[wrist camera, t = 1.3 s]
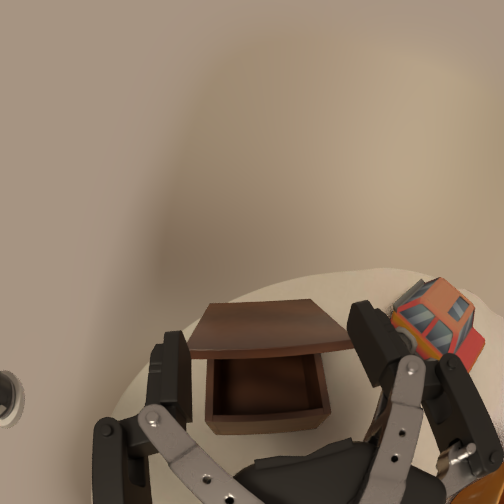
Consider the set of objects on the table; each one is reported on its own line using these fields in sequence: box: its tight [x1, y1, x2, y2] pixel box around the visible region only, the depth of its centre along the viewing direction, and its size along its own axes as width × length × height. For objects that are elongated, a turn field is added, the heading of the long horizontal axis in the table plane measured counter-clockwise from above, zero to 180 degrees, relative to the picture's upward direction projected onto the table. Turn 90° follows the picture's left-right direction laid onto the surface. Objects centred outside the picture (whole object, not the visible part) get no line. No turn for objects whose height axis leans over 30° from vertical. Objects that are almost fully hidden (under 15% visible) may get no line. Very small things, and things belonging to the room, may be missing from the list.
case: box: [205, 353, 331, 435], centre depth 31 cm, size 15×13×8 cm
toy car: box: [389, 277, 485, 373], centre depth 32 cm, size 12×17×10 cm
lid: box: [187, 299, 354, 359], centre depth 26 cm, size 15×13×1 cm
